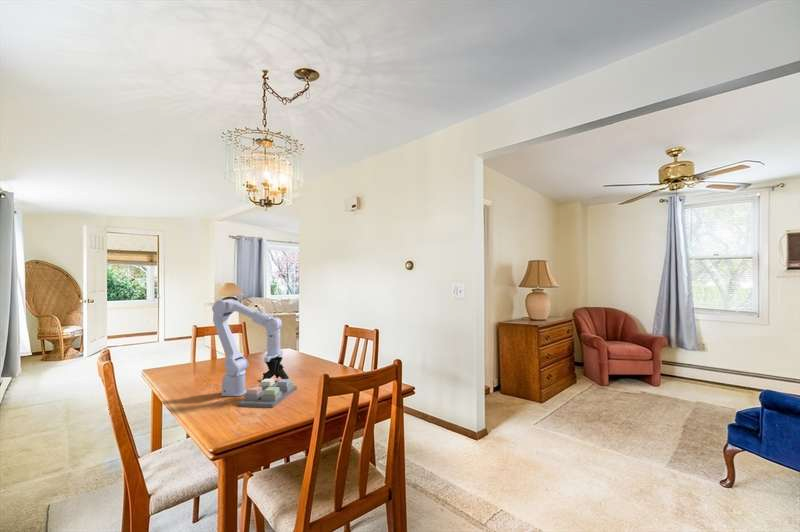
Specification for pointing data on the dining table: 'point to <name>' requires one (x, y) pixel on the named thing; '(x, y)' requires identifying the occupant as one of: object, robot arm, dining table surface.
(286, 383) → the slate button
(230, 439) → the dining table surface
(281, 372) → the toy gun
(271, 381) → the cream button
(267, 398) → the control console
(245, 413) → the dining table surface
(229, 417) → the dining table surface
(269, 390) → the sage button
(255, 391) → the rose button
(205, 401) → the dining table surface
